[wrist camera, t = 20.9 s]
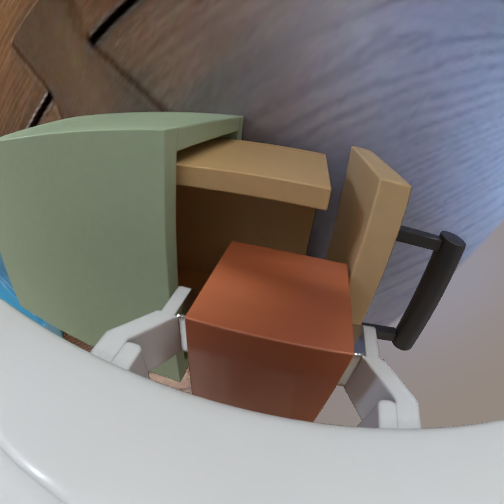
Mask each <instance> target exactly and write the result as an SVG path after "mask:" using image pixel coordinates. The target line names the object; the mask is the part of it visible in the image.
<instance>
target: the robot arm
mask: <svg viewBox="0 0 504 504" xmlns="http://www.w3.org/2000/svg"><path fill="white" fill-rule="evenodd" d="M199 293H200V291H199V290H196V289H191V288H188V287H184V286H180V287H178V288H177V290H176V291H175V292H174V294H173V295H172V296H171V298H170V299H169V301H168V302H167V303H166V305H165V306H164V308H163V309H162V310H161V311H159V310H157V311H154V312H152V313H150V314H147V315H145V316H142V317H140V318H137V319H135V320H133V321H130V322H128V323H125V324H123V325H120V326H118V327H115V328H113V329H111V330H108V331H106V333H105V334H104V335H103V336H102V338H101V339H100V340H99V341H98V343H97V344H96V345H95V346H94V348H93V349H92V350H91V351H90V352H88V351H86V350H84V349H82V348H80V347H78V346H76V345H74V344H73V343H71V342H69V341H67V340H65V339H63V338H62V337H60V336H58V335H56V334H55V333H53V332H51V331H50V330H48V329H46V328H45V327H43V326H41V325H40V324H38V323H37V322H35V321H33V320H32V319H30V318H29V317H27V316H26V315H24V314H23V313H21V312H20V311H18V310H17V309H15V308H14V307H12V306H11V305H10V304H8V303H7V302H6V301H4V300H2V299H0V504H504V419H503V420H498V421H492V422H485V423H480V424H471V425H462V426H452V427H439V428H421V421H420V413H419V406H418V401H417V399H416V398H415V397H414V396H413V395H412V393H411V392H410V391H409V390H408V388H407V387H406V386H405V385H404V384H403V382H402V381H401V380H400V379H399V378H398V376H397V375H396V374H395V373H394V371H393V370H392V369H391V368H390V367H389V366H388V364H387V363H386V362H385V361H384V359H380V355H379V348H378V341H377V335H376V329H375V327H372V326H365V325H357V324H353V337H354V356H353V358H352V360H351V362H350V364H349V365H348V367H347V369H346V371H345V372H344V374H343V376H342V377H341V379H340V381H339V382H338V384H337V385H339V386H344V388H345V390H346V392H347V394H348V396H349V398H350V400H351V401H352V403H353V405H354V407H355V409H356V411H357V412H358V414H359V416H360V418H361V420H362V422H361V423H360V424H359V425H358V426H357V427H353V426H342V425H332V424H324V423H315V422H309V421H302V420H296V419H290V418H284V417H279V416H274V415H269V414H264V413H259V412H255V411H251V410H246V409H242V408H238V407H234V406H230V405H227V404H223V403H219V402H216V401H212V400H209V399H206V398H202V397H199V396H196V395H193V394H190V393H187V392H184V391H181V390H178V389H175V388H172V387H169V386H166V385H164V384H161V383H158V382H156V381H153V380H151V379H150V377H149V374H148V372H150V371H151V370H153V369H154V368H156V367H158V366H159V365H161V364H162V363H164V362H165V361H167V360H169V359H170V358H172V357H173V356H175V355H176V354H178V353H179V352H181V350H183V351H187V340H186V329H185V316H186V315H187V313H188V311H189V310H190V308H191V306H192V305H193V303H194V301H195V300H196V298H197V296H198V295H199ZM187 352H188V351H187Z"/></svg>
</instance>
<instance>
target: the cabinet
mask: <svg viewBox="0 0 504 504" xmlns="http://www.w3.org/2000/svg"><path fill="white" fill-rule="evenodd" d="M243 121H244V116H237V115H226V114H212V113H192V112H132V113H113V114H99V115H88V116H79V117H73V118H68V119H63V120H59V121H54V122H50V123H46V124H42V125H38V126H35V127H31V128H27V129H24V130H21V131H17V132H14V133H11V134H8V135H5V136H2V137H0V253H1V256H2V259H3V262H4V265H5V268H6V271H7V273H8V276H9V279H10V281H11V284H12V286H13V289H14V291H15V294H16V296H17V298H18V301H19V303H20V305H21V306H22V307H23V308H25V309H26V310H28V311H29V312H31V313H33V314H34V315H36V316H38V317H39V318H41V319H43V320H44V321H46V322H48V323H49V324H51V325H53V326H55V327H56V328H58V329H60V330H62V331H64V332H65V333H67V334H69V335H71V336H73V337H75V338H77V339H79V340H81V341H83V342H85V343H87V344H89V345H91V346H93V347H94V346H95V345H96V344H97V343H98V341H99V340H100V339H101V338H102V336H103V335H104V334H105V333H106V331H108V330H111V329H113V328H115V327H118V326H120V325H123V324H125V323H128V322H130V321H133V320H135V319H137V318H140V317H142V316H145V315H147V314H150V313H152V312H154V311H157V310H159V311H161V310H162V309H163V308H164V306H165V305H166V303H167V302H168V301H169V299H170V298H171V296H172V295H173V294H174V292H175V291H176V290H177V288H178V270H177V245H176V156H177V151H179V150H182V149H185V148H187V147H190V146H193V145H196V144H198V143H201V142H204V141H207V140H210V139H213V138H225V139H234V140H242V130H243ZM188 366H189V361H188V353H187V352H184V351H183V350H181V352H179V353H178V354H176V355H175V356H173V357H172V358H170V359H169V360H167V361H165V362H164V363H162V364H161V365H159V366H158V367H156V368H154V369H153V370H151V372H153V373H156V374H159V375H161V376H164V377H167V378H170V379H172V380H175V381H178V382H181V380H182V378H183V376H184V374H185V372H186V370H187V368H188Z"/></svg>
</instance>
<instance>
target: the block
mask: <svg viewBox="0 0 504 504" xmlns="http://www.w3.org/2000/svg"><path fill="white" fill-rule="evenodd" d="M185 329H186V340H187V351H188V361H189V371H190V379H191V388H192V394H193V395H196V396H199V397H202V398H206V399H209V400H212V401H216V402H219V403H223V404H227V405H230V406H234V407H238V408H242V409H246V410H251V411H255V412H259V413H264V414H269V415H274V416H279V417H284V418H290V419H296V420H302V421H309V422H313V421H314V420H315V418H316V417H317V415H318V414H319V412H320V411H321V409H322V408H323V406H324V405H325V403H326V402H327V400H328V399H329V397H330V395H331V394H332V392H333V391H334V389H335V387H336V385H337V384H338V382H339V381H340V379H341V377H342V376H343V374H344V372H345V371H346V369H347V367H348V365H349V364H350V362H351V360H352V358H353V356H354V337H353V322H352V310H351V298H350V288H349V279H348V270H347V264H344V263H339V262H334V261H330V260H325V259H320V258H315V257H310V256H305V255H301V254H296V253H291V252H286V251H281V250H276V249H271V248H266V247H261V246H256V245H251V244H246V243H241V242H236V241H232V242H231V243H230V245H229V246H228V248H227V249H226V251H225V253H224V254H223V256H222V257H221V259H220V261H219V262H218V264H217V266H216V267H215V269H214V270H213V272H212V274H211V275H210V277H209V278H208V280H207V282H206V283H205V285H204V287H203V288H202V290H201V291H200V293H199V295H198V296H197V298H196V300H195V301H194V303H193V305H192V306H191V308H190V310H189V311H188V313H187V315H186V316H185Z"/></svg>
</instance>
